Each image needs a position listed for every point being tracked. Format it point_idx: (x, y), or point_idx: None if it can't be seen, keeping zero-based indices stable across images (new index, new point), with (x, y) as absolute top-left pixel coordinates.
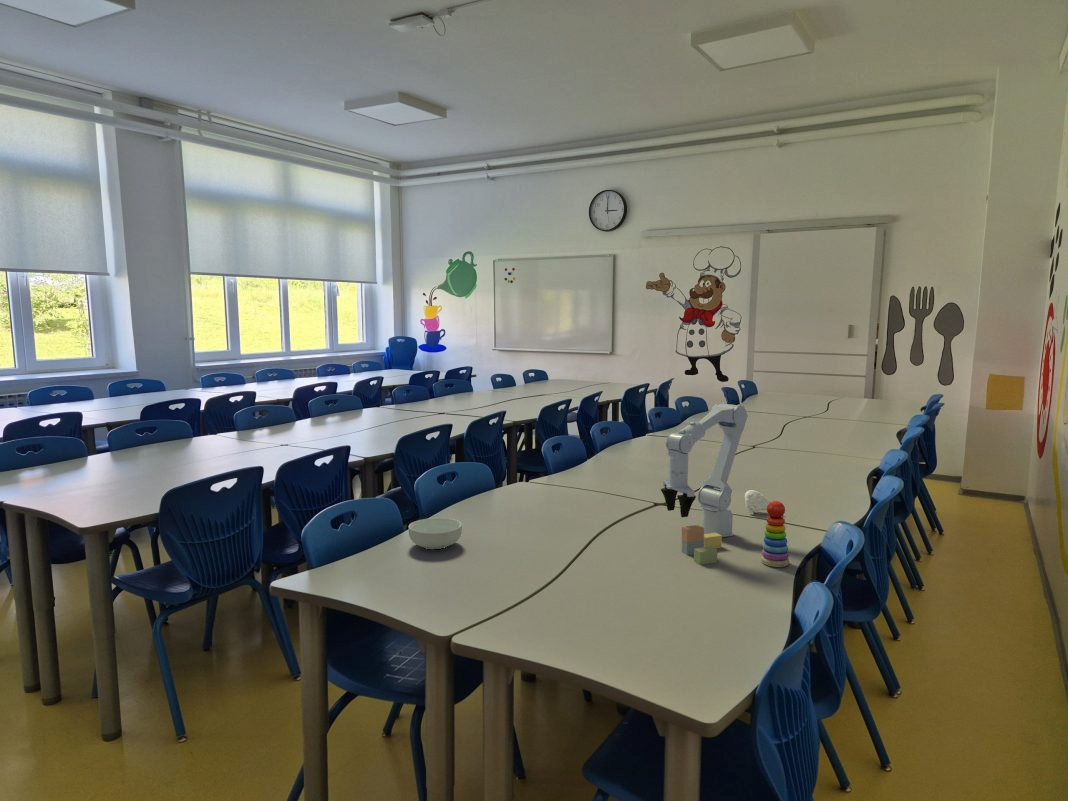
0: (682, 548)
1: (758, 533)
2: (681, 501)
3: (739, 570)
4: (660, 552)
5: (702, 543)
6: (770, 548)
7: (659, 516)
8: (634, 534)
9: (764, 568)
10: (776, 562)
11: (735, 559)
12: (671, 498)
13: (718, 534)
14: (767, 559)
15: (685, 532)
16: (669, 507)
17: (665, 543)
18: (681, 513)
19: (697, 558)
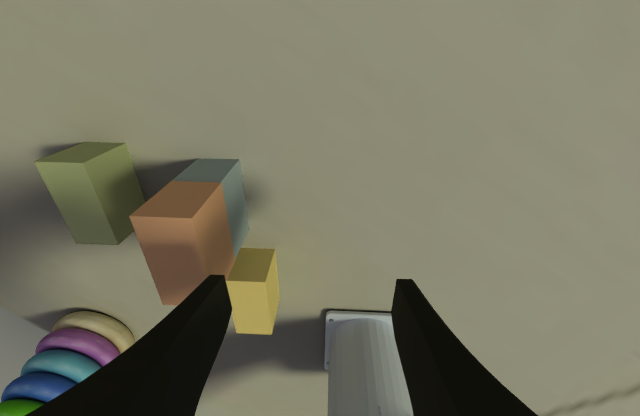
0: (228, 166)
1: (318, 406)
2: (54, 405)
3: (34, 232)
4: (257, 59)
5: None
6: (29, 363)
7: (635, 305)
8: (558, 80)
9: (59, 295)
10: (52, 331)
11: (136, 274)
12: (424, 399)
13: (250, 330)
14: (67, 326)
15: (162, 205)
16: (400, 304)
17: (359, 155)
18: (194, 292)
19: (82, 149)
